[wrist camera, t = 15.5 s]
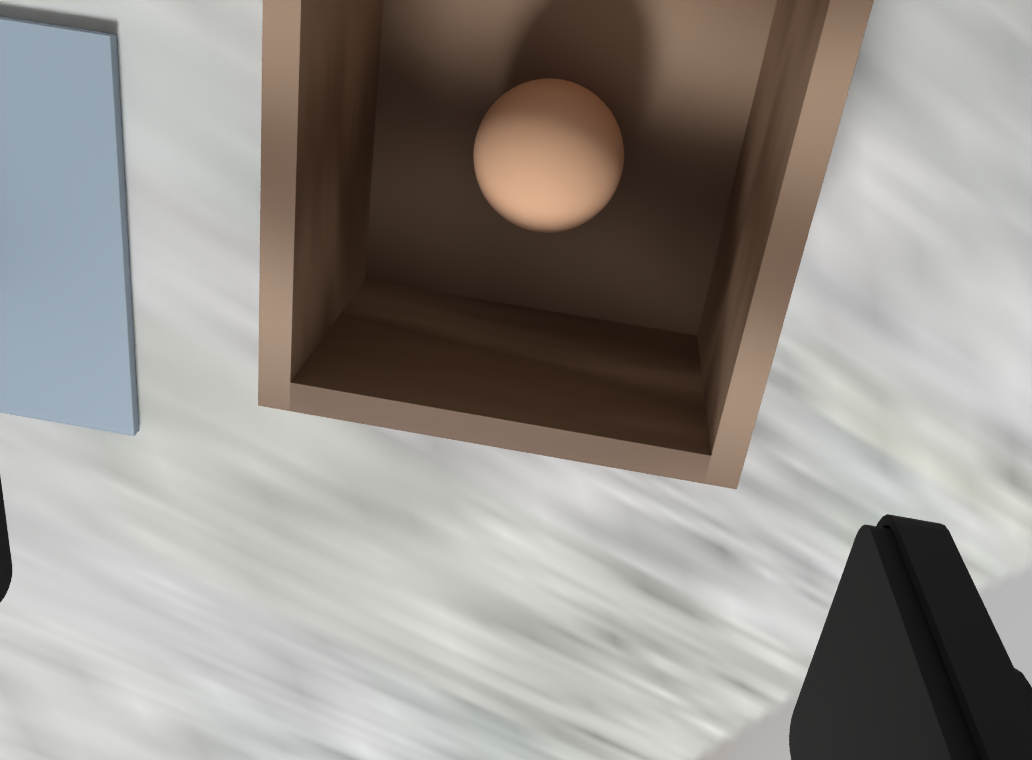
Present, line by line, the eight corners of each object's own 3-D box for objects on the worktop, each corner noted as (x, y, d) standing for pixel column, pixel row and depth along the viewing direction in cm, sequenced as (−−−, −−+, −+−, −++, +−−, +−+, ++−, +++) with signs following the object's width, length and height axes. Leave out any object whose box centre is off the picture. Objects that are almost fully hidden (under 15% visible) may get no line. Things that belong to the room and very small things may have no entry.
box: (715, 352, 31) (736, 489, 24) (345, 290, 32) (257, 405, 24) (818, -59, 26) (885, -41, 18) (368, -126, 26) (264, -134, 19)
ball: (612, 218, 29) (607, 264, 25) (477, 197, 29) (454, 239, 25) (637, 79, 27) (636, 107, 23) (494, 56, 27) (470, 81, 23)
